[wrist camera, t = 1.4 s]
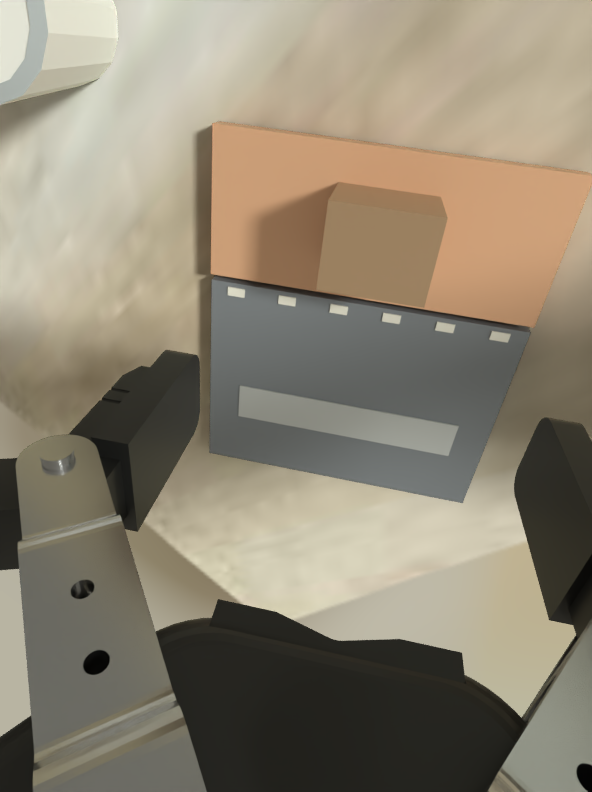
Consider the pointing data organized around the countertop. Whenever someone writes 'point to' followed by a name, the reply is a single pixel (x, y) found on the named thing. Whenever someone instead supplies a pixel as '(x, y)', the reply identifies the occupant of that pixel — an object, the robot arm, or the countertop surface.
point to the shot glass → (54, 45)
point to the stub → (390, 222)
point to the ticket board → (356, 386)
